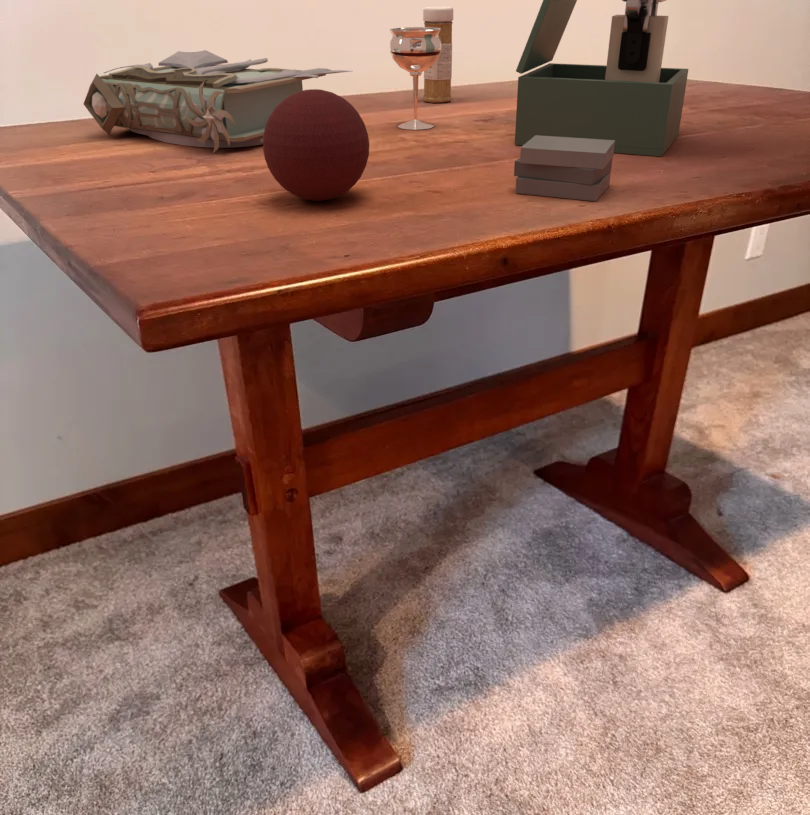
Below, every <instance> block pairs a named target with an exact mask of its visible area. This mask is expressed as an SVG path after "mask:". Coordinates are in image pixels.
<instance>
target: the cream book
mask: <svg viewBox="0 0 810 815" xmlns="http://www.w3.org/2000/svg"><path fill="white" fill-rule="evenodd" d="M624 16H625V14H615V15H612V16H611V23H610V32H609V41H608V49H607V58H606V66H607V67H606V75H605V80H614V81H635V82H656V83H659V79H660V72H661V68H662V64H663V58H664V57H663V56H664V51H665V44H666V37H667V31H668V30H667V29H668V22H669V15H657V16H653V15H651V18H650V25H649V31H648V33H651V37H650V44H649V52H648V59H647V67H646V69H645V70H644V71H633V70H620V69H618V61H619V53H620V44H621V36H622V32H623V24H624Z"/></svg>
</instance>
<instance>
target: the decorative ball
mask: <svg viewBox="0 0 810 815" xmlns="http://www.w3.org/2000/svg"><path fill="white" fill-rule="evenodd" d="M262 151H263V156H264V161H265V163H266V166H267V168H268V171H269V172H270V174H271V175H272V177H273V179H274V180H275V181H276V182H277V183H278V184H279V185H280V186H281V187H282V188H283V189H284V190H286V191H287V192H289V193H290V194H291V195H293V196H296V197H298V198H300V199H303V200H305V201H306V200H307V201H315V202H316V201H318V202H319V201H320V202H321V201H327V200H328V201H329V200H332V199H335V198H338V197H340V196H342V195H344V194H345V193H347V192H349V190H351V189H352V188H353V187H354V186H355V185H356V184H357V183H358V181H359V180H360V179H361V177H362V175H363V173H364V171H365V169H366V167H367V164H368V160H369V157H370V140H369V133H368V130H367V127H366V124H365V122H364V120H363V118H362V117H361V114H360V113H359V112H358V110H356V108H355V107H354V106H353V104H352V103H350V102H349V100H346V99H345V97H342V96H340V95H338V94H336V93H335V92H333V91H328V90H324V89H318V88H314V89H313V88H311V89H303V91H300V92H297V93H294V94H292V95H290V96H289V97H287V98H285V99H284V100H283V101H282V102H281V103H280V104H279V105H278V106H277V107H275V109H274V110H273V112H272V113H271V115H270V116H269V119H268V121H267V123H266V126H265V130H264V136H263V144H262Z"/></svg>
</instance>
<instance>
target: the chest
mask: <svg viewBox="0 0 810 815" xmlns="http://www.w3.org/2000/svg"><path fill="white" fill-rule="evenodd" d="M606 67H607V65H603V64H602V65H600V64H578V63H577V64H575V63H552V62H551V63H550V62H548V63H546V64H544V65H542V66H539V67H537V68H535V69H532V70H530V71H528V72H526V73H523V74H521V75H520V76H518V77H517V94H516V111H515V130H514V146H520V147H522V146H523V145H524V144H526V143H527V142H528V141H529V140H530V139H532V138H533V137H534V136H535V135H539V136H555V137H571V138H587V139H603V140H615V146H614V154H620V155H621V154H623V155H633V156H636V155H637V156H647V157H648V156H649V157H663V155H664V154H665V153H666V152H667V150H668V149H669V148H670V146H671V145H672V144H673V142H674V141H675V140H676V139H677V138H678V135H679V134H680V127H681V122H682V116H683V114H682V113H683V110H684V109H683V107H684V100H685V94H686V88H687V83H688V76H689V68H678V67H677V68H676V67H661V72H660V79H659V83H656V82H635V81H614V80H605V75H606Z"/></svg>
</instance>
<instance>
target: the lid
mask: <svg viewBox="0 0 810 815" xmlns="http://www.w3.org/2000/svg"><path fill="white" fill-rule="evenodd" d="M577 2H578V0H542V2H541V5H540V7H539V9H538V13H537V15H536V18H535V20H534V23H533V25H532V27H531V31H530V33H529V35H528V38H527V41H526V43H525V45H524V46H525V47H524V49H523V51H522V54H521V56H520V59H519V62H518V64H517V66H516V69H515V72H516V73H519V74H520V75H523V74H526V73H528V72H530V71H532V70H535V69H537V68H539V67H542V66H544V65H546V64H549V63H550V62H552V61H553V59H554V58H555V55H556V53H557V50H558V48H559V45H560V43H561V41H562V38H563V35H564V34H565V31H566V28H567V26H568V23H569V21H570V18H571V16H572V14H573V11H574V9H575V7H576V4H577Z"/></svg>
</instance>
